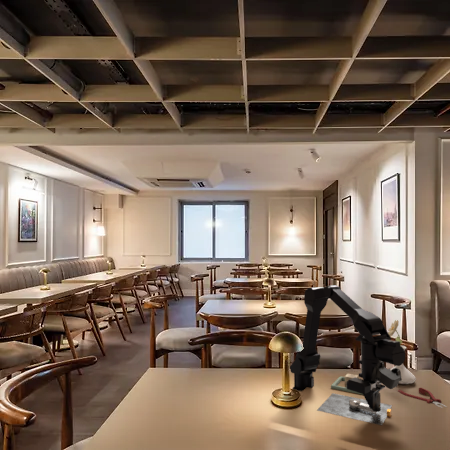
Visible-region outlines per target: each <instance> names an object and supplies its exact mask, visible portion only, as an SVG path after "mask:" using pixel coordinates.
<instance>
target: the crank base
mask: <svg viewBox="0 0 450 450" xmlns="http://www.w3.org/2000/svg"><path fill="white" fill-rule="evenodd" d="M350 399H357V400H359V401H361V403H364V404H368V403H367V401H366V399H365V398H364V399H363V398H358V397H352V396H349V395H344V394H338V393H331V394H330V396H329V397H327V399H326V400H325V401H324V402H323V403H322V404H321V405H320V406H319V407H318V408H317V410H316V411H318V412H322V413H326V414H332V415H335V416H339V417H344V418H349V419H353V420H358V421H362V422H366V423H369V424H375V425H379V426H383V425H384V423H385V420H386V419H387V417H389V418H391V417H392V406H393V404H387V403H383V402H381V411H380V412H376V413H374V412H371V411H367V410H364V409H353V408H350V407H349V400H350Z"/></svg>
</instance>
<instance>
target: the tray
mask: <svg viewBox="0 0 450 450" xmlns="http://www.w3.org/2000/svg"><path fill="white" fill-rule="evenodd" d="M341 382H345V376H343V375H342V376H341V375H340V376H339V377H338V378H336V380H335V381H333V383H332V384H331V385H330V389H331V390H332V389H333V390H337V391H342V392H348V393H353V394H358V395H362V396H364V395H363V394H361V393H358V392H355V391H352V390H349V389H347V388H346V387H345V386H340V385H339V384H340V383H341Z"/></svg>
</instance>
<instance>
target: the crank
mask: <svg viewBox="0 0 450 450" xmlns="http://www.w3.org/2000/svg"><path fill="white" fill-rule="evenodd" d="M381 403H382V402H381V393H380V392H379V394H378V396H377V400H376V403H375V407H374V409H370V407H369V405H368V404H364V403H361V401H359V400H357V399H350V400H349V407H350V408H353V409H364V410H367V411H371V412H374V413H376V412H380V411H381Z"/></svg>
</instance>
